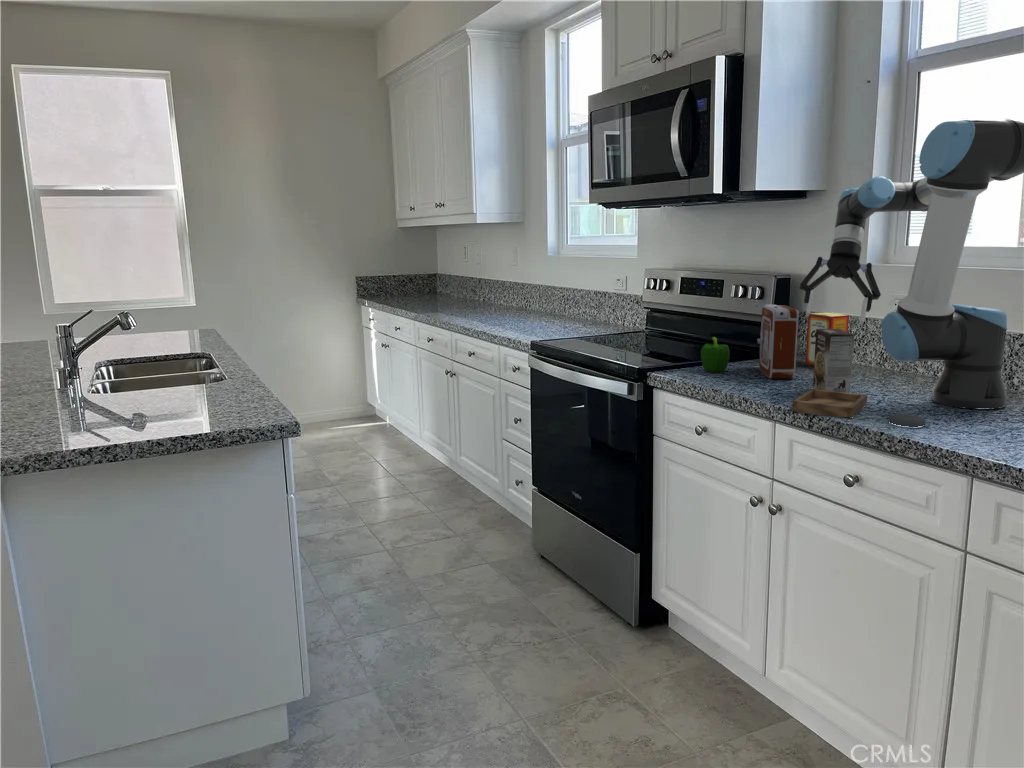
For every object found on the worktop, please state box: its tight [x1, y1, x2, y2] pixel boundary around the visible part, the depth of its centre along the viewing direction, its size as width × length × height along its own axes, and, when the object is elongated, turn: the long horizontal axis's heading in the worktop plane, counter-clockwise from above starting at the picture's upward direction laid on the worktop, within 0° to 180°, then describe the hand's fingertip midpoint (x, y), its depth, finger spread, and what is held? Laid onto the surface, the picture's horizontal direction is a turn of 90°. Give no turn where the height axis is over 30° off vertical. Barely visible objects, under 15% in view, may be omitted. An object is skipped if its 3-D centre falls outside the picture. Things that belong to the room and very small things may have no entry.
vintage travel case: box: [756, 304, 800, 380], centre depth 217 cm, size 9×19×20 cm, turn 174°
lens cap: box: [888, 413, 926, 427], centre depth 163 cm, size 7×7×2 cm
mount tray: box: [791, 388, 868, 419], centre depth 178 cm, size 13×15×2 cm
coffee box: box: [812, 329, 855, 393], centre depth 191 cm, size 9×6×16 cm
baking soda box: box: [804, 311, 850, 367], centre depth 228 cm, size 10×6×16 cm
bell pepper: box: [700, 336, 731, 373], centre depth 223 cm, size 8×8×10 cm
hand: (834, 318), depth 201 cm, fingers open, 13 cm apart
